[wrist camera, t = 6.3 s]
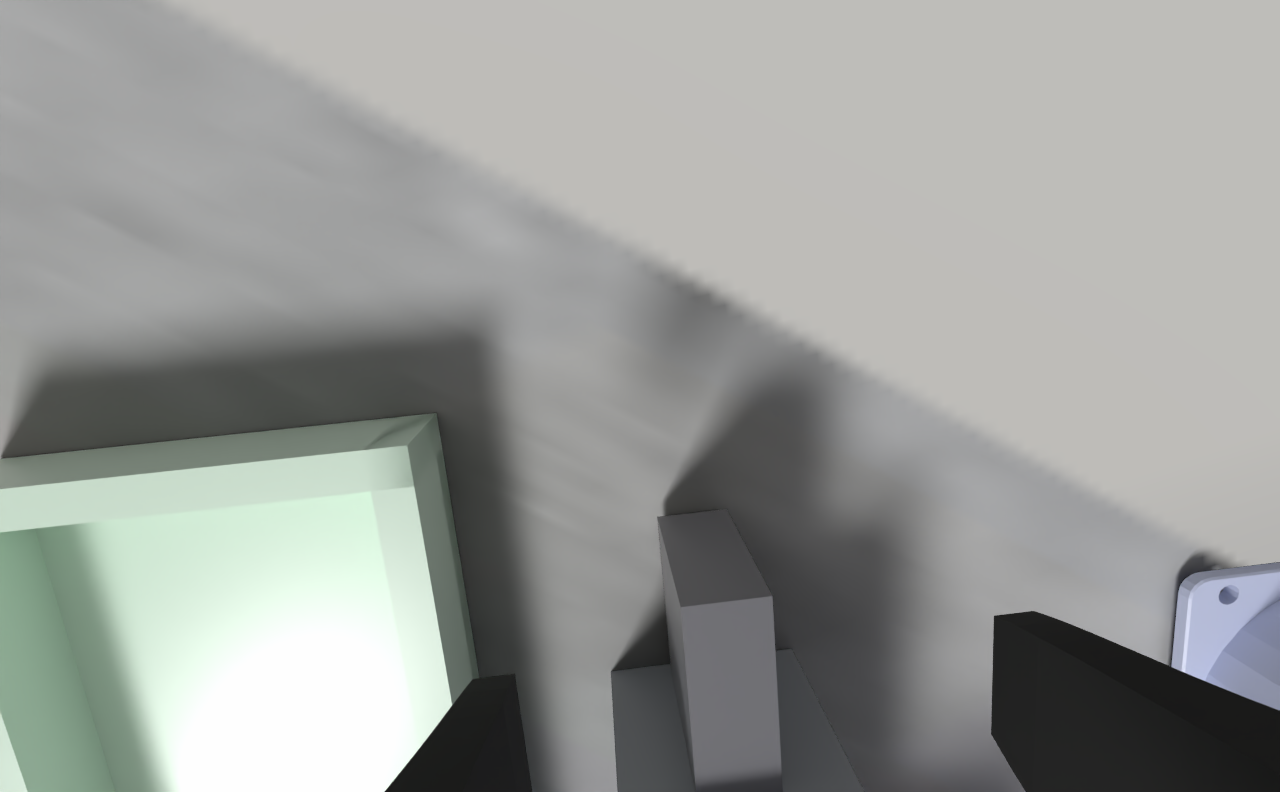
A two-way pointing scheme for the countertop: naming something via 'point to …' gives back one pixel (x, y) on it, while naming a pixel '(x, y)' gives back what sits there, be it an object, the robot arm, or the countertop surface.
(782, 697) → the grey bottle-shaped block
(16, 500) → the tray
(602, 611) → the countertop surface
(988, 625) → the countertop surface
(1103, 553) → the countertop surface
